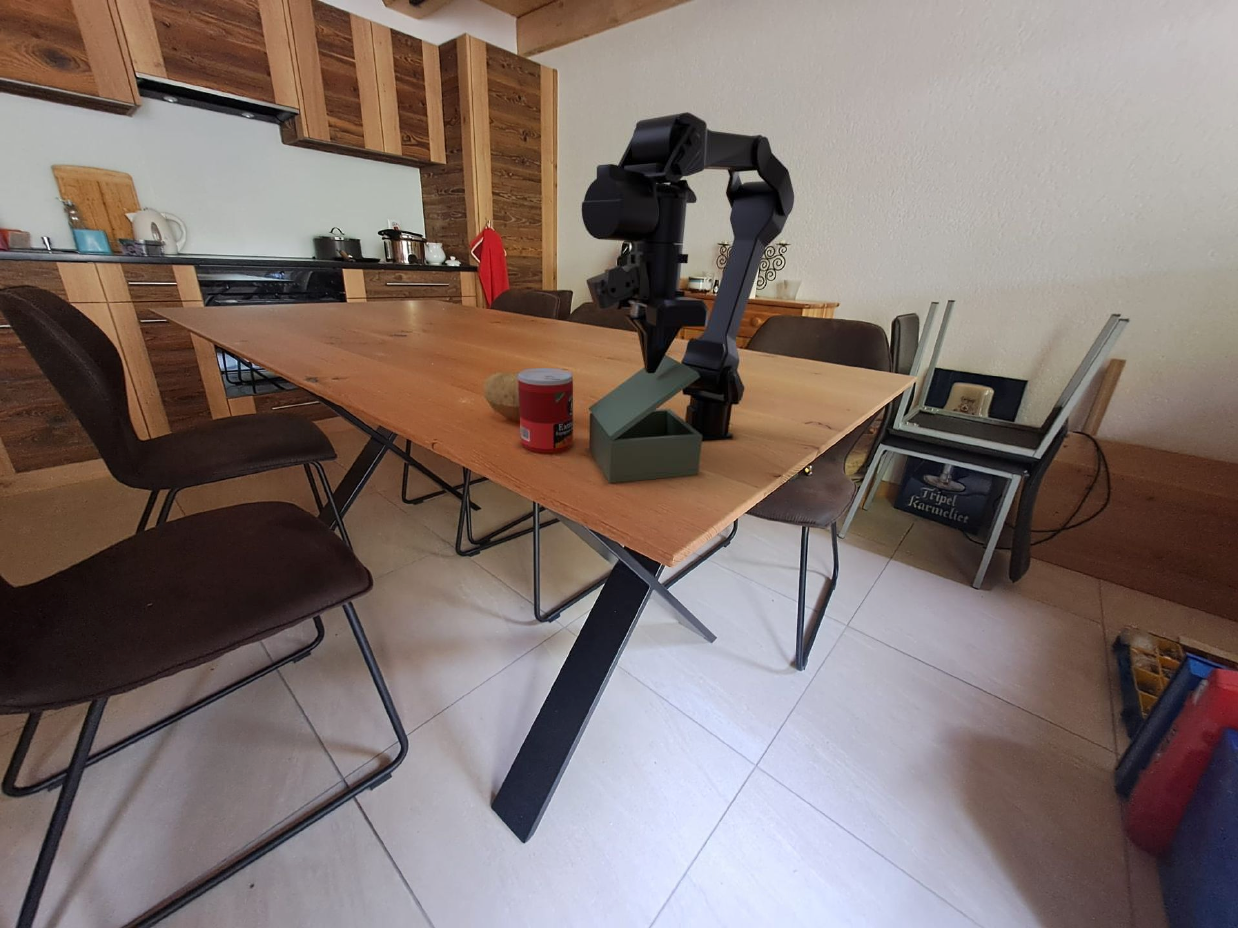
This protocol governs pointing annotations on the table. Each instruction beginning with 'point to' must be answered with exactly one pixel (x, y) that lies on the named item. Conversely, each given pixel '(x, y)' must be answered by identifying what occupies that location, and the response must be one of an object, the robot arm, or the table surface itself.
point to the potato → (503, 394)
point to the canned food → (546, 409)
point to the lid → (641, 396)
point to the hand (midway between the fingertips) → (650, 372)
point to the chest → (647, 448)
